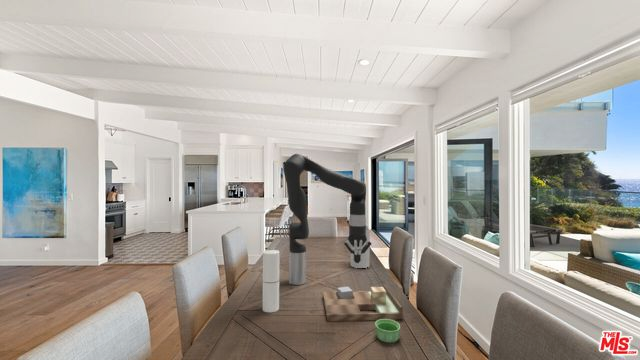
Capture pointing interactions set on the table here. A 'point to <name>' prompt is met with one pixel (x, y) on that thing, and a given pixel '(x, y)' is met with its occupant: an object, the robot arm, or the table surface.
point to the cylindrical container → (270, 280)
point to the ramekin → (387, 330)
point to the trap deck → (361, 307)
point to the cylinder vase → (362, 255)
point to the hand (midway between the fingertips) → (357, 262)
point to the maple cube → (378, 295)
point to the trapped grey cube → (344, 293)
